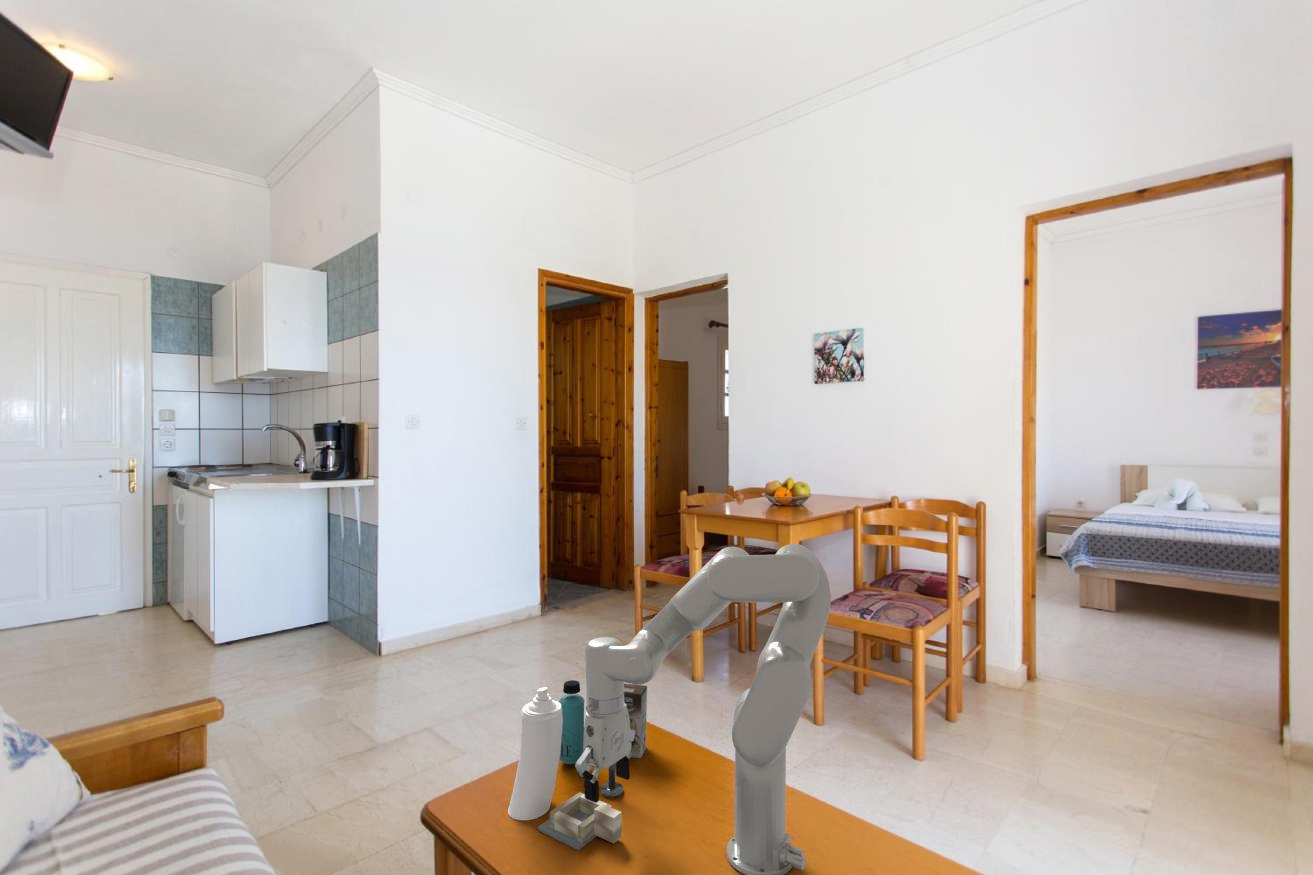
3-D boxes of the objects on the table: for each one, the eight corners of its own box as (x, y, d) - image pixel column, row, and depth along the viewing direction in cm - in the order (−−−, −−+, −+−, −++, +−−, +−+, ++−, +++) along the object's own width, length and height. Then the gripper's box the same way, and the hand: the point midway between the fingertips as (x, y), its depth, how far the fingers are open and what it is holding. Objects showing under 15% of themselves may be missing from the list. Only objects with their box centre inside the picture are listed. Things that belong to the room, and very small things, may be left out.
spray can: (521, 788, 144) (522, 678, 144) (567, 792, 143) (567, 680, 143) (501, 818, 133) (502, 698, 133) (550, 823, 131) (551, 701, 131)
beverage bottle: (587, 757, 158) (587, 677, 158) (581, 771, 152) (582, 687, 152) (561, 756, 159) (562, 676, 159) (555, 770, 152) (555, 686, 152)
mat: (617, 819, 132) (617, 816, 132) (578, 850, 123) (578, 846, 123) (577, 802, 139) (577, 799, 139) (537, 829, 129) (537, 826, 129)
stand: (627, 790, 143) (627, 708, 143) (613, 800, 139) (613, 716, 139) (610, 783, 146) (610, 702, 146) (596, 793, 142) (596, 710, 142)
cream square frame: (631, 828, 128) (631, 804, 128) (602, 852, 121) (602, 826, 121) (579, 805, 136) (579, 782, 136) (549, 826, 129) (549, 801, 129)
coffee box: (605, 754, 160) (606, 690, 160) (613, 743, 166) (613, 681, 166) (641, 759, 158) (641, 694, 158) (647, 746, 164) (647, 684, 164)
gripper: (591, 722, 117) (593, 815, 117) (646, 691, 132) (648, 774, 131) (561, 713, 122) (564, 803, 122) (617, 684, 136) (620, 764, 136)
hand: (607, 788), depth 126 cm, fingers open, 9 cm apart
